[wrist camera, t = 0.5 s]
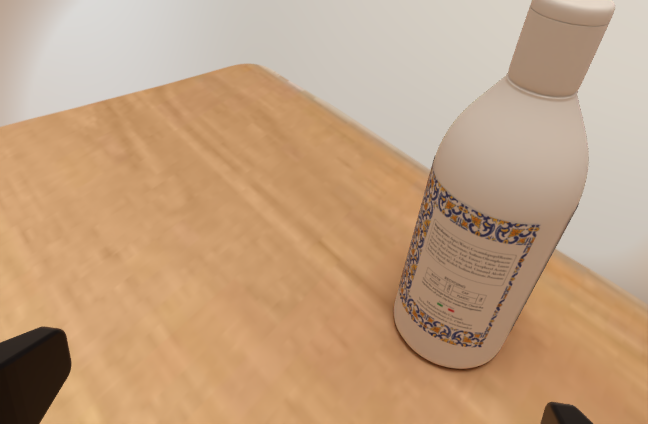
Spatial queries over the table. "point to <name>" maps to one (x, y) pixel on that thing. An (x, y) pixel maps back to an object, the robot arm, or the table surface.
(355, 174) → the table surface
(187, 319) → the table surface
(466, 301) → the bath foam
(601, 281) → the table surface
